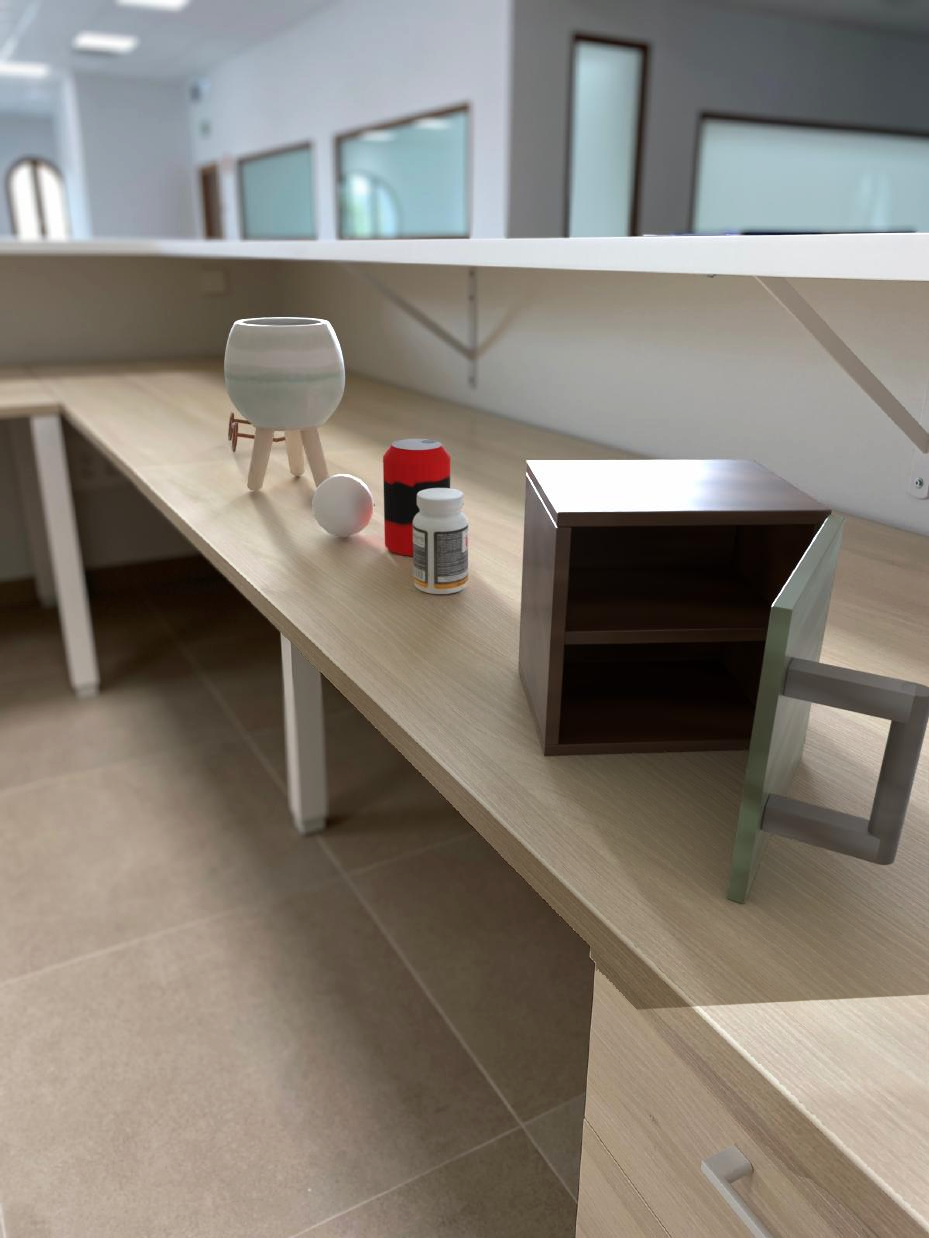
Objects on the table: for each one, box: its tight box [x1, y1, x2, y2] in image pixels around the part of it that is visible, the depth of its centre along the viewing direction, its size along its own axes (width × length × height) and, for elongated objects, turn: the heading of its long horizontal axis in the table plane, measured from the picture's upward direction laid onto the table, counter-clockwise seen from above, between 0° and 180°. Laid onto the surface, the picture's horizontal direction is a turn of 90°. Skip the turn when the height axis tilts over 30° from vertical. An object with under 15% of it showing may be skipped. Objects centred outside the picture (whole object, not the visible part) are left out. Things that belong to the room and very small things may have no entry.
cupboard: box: [517, 459, 833, 757], centre depth 69 cm, size 14×18×18 cm
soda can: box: [382, 438, 452, 557], centre depth 106 cm, size 8×8×12 cm
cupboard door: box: [726, 514, 929, 905], centre depth 54 cm, size 8×18×18 cm, turn 152°
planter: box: [223, 316, 346, 492], centre depth 128 cm, size 16×16×22 cm
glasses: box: [227, 411, 285, 453], centre depth 155 cm, size 13×13×5 cm
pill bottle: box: [412, 487, 469, 595], centre depth 94 cm, size 6×6×10 cm
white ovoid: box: [311, 473, 376, 537], centre depth 112 cm, size 10×7×7 cm
